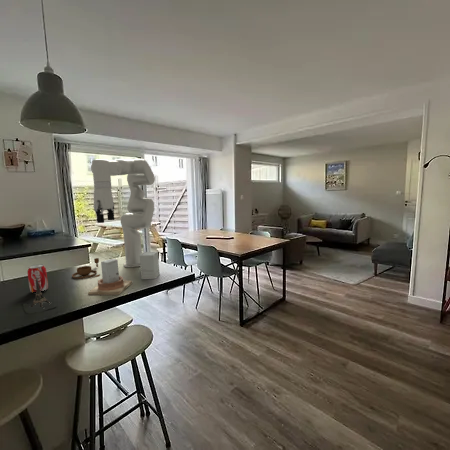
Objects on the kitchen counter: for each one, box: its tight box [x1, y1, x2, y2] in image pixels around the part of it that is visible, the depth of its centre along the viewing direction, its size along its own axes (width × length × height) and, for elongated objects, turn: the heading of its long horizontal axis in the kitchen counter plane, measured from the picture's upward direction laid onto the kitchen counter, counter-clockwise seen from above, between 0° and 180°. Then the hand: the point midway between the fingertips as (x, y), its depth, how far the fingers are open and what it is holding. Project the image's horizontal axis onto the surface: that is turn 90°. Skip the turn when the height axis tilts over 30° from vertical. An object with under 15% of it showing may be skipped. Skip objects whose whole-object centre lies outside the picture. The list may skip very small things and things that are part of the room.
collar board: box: [87, 275, 133, 296], centre depth 123 cm, size 14×14×4 cm
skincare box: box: [100, 258, 120, 283], centre depth 122 cm, size 6×4×12 cm
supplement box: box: [139, 251, 160, 280], centre depth 137 cm, size 7×7×13 cm
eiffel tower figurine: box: [30, 277, 51, 307], centre depth 106 cm, size 15×10×13 cm
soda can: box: [27, 263, 49, 293], centre depth 122 cm, size 7×7×12 cm
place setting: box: [71, 257, 101, 280], centre depth 146 cm, size 18×20×6 cm
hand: (106, 221), depth 129 cm, fingers open, 9 cm apart
